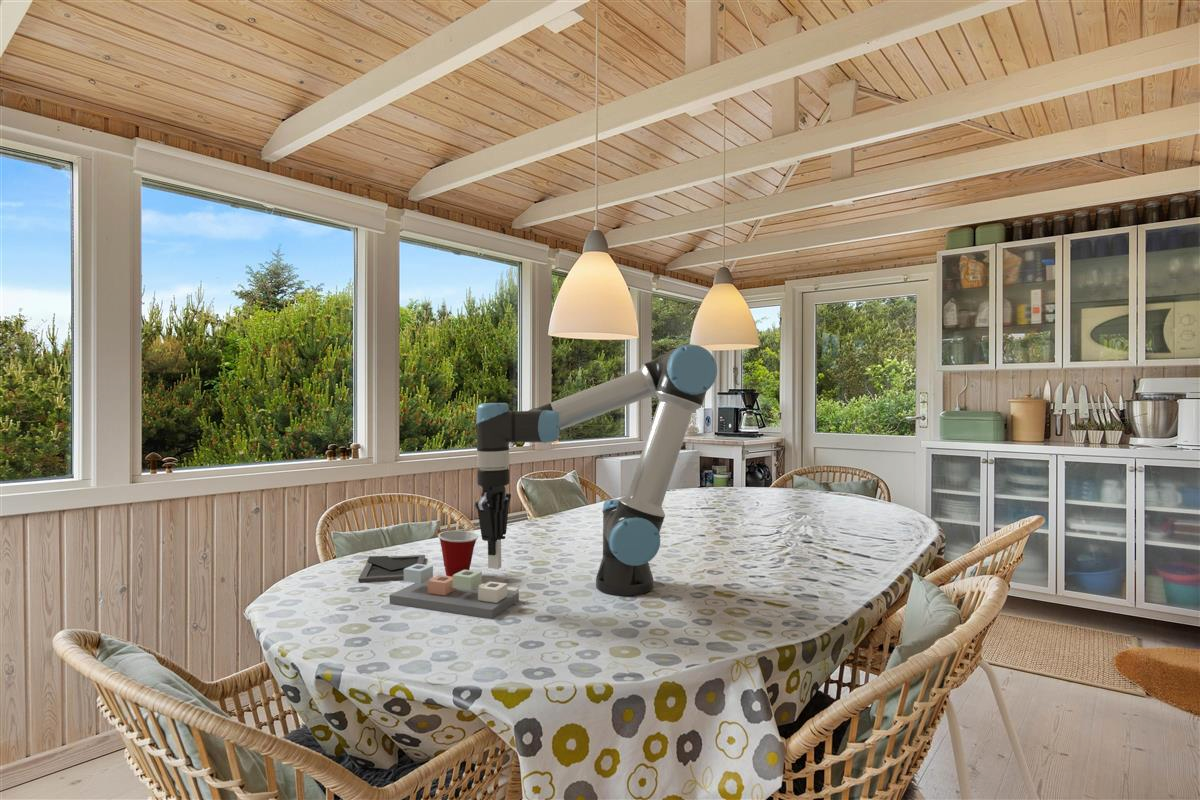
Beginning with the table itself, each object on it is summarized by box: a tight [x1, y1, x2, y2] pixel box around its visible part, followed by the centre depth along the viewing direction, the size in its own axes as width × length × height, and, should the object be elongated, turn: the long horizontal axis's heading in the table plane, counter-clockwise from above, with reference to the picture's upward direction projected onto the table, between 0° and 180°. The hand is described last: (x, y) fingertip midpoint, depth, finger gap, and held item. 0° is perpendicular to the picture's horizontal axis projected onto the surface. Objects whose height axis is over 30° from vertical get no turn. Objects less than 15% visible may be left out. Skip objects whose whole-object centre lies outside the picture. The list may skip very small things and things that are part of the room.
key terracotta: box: [428, 574, 457, 596], centre depth 151 cm, size 5×5×3 cm
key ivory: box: [478, 581, 508, 603], centre depth 146 cm, size 5×5×3 cm
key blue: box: [403, 564, 434, 584], centre depth 153 cm, size 5×5×3 cm
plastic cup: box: [437, 530, 479, 577], centre depth 169 cm, size 11×11×12 cm
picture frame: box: [357, 554, 426, 583], centre depth 176 cm, size 16×2×21 cm
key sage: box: [453, 570, 483, 590], centre depth 149 cm, size 5×5×3 cm
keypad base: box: [389, 576, 520, 620], centre depth 150 cm, size 28×13×3 cm, turn 70°
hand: (494, 567), depth 146 cm, fingers closed
